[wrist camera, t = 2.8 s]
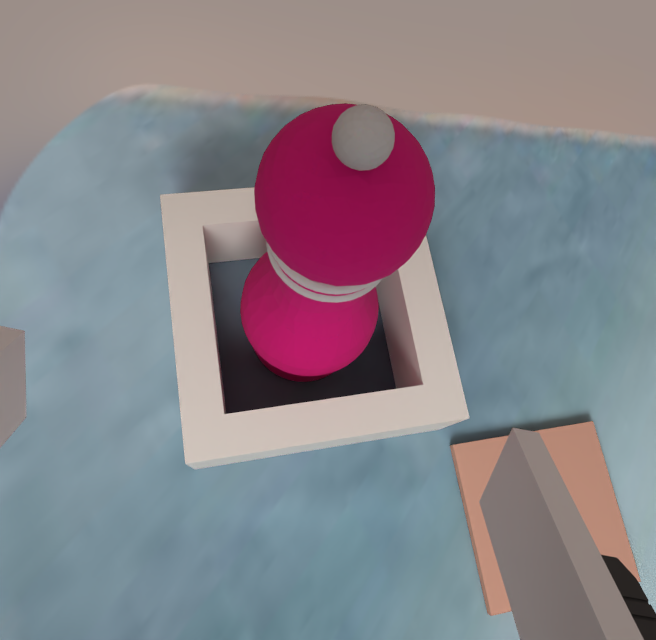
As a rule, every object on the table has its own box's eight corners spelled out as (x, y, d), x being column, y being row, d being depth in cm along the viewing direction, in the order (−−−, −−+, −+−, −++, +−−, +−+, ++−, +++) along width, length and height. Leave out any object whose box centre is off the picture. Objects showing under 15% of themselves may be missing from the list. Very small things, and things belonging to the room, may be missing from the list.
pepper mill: (253, 401, 32) (260, 262, 13) (231, 285, 34) (210, 19, 15) (374, 377, 34) (534, 220, 15) (346, 266, 36) (456, 2, 17)
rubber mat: (588, 422, 35) (592, 421, 34) (635, 580, 32) (640, 581, 32) (450, 445, 33) (452, 444, 32) (487, 613, 30) (491, 615, 30)
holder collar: (391, 216, 37) (411, 174, 32) (438, 429, 33) (469, 418, 28) (172, 236, 35) (160, 194, 30) (195, 469, 31) (185, 463, 26)
